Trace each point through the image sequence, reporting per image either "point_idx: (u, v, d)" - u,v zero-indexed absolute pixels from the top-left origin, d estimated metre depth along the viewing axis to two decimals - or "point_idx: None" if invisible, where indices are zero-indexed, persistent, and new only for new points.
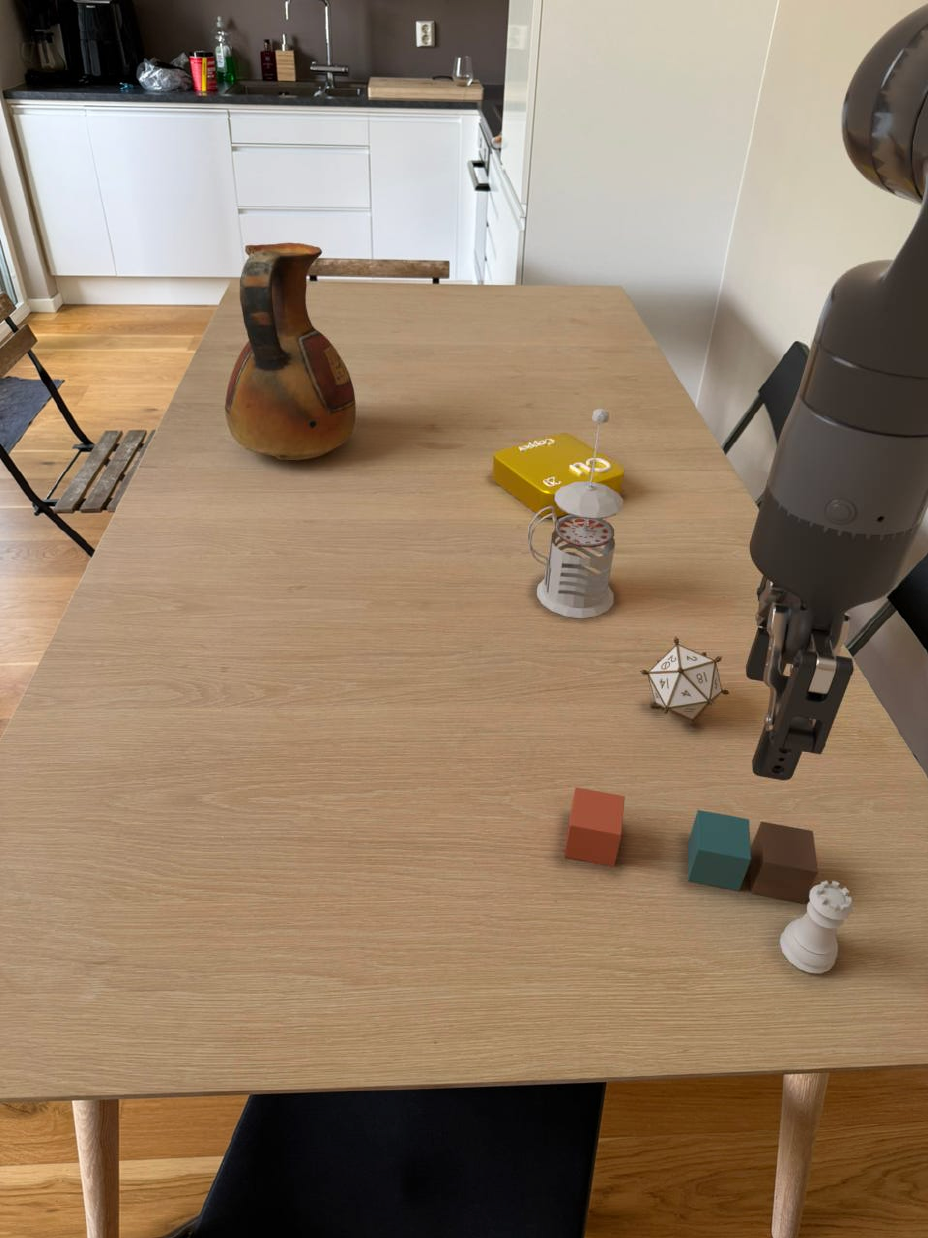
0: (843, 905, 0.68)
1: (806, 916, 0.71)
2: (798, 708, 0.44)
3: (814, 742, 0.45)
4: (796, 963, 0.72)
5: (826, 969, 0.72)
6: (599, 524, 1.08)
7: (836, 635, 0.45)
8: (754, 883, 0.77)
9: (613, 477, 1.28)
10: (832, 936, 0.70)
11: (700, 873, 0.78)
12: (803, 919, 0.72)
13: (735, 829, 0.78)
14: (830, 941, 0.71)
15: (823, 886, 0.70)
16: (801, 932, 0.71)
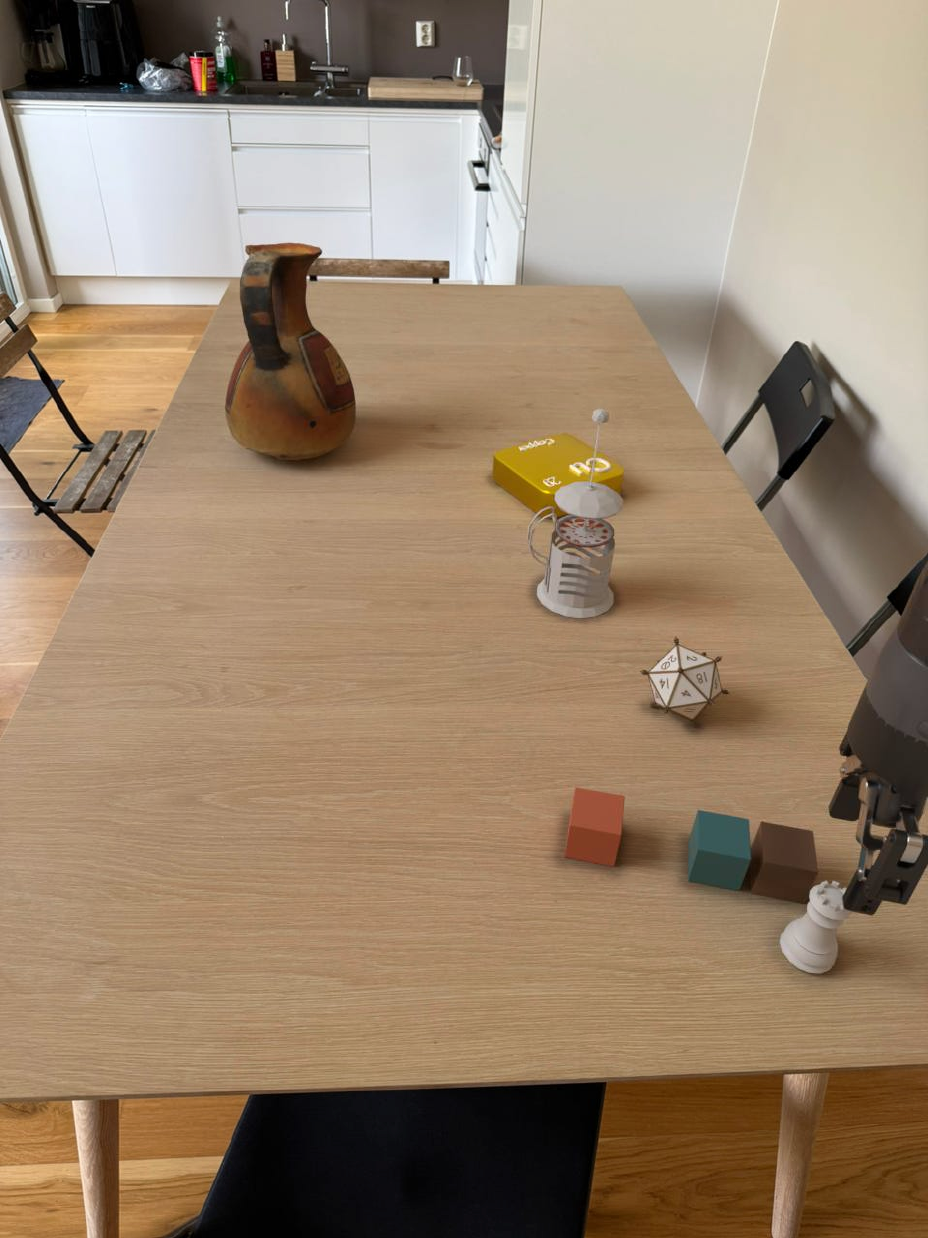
0: None
1: (806, 916, 0.71)
2: (890, 872, 0.56)
3: (901, 896, 0.57)
4: (796, 963, 0.72)
5: (826, 969, 0.72)
6: (599, 524, 1.08)
7: (919, 813, 0.57)
8: (754, 883, 0.77)
9: (613, 477, 1.28)
10: (832, 936, 0.70)
11: (700, 873, 0.78)
12: (803, 919, 0.72)
13: (735, 829, 0.78)
14: (830, 941, 0.71)
15: (823, 886, 0.70)
16: (801, 932, 0.71)
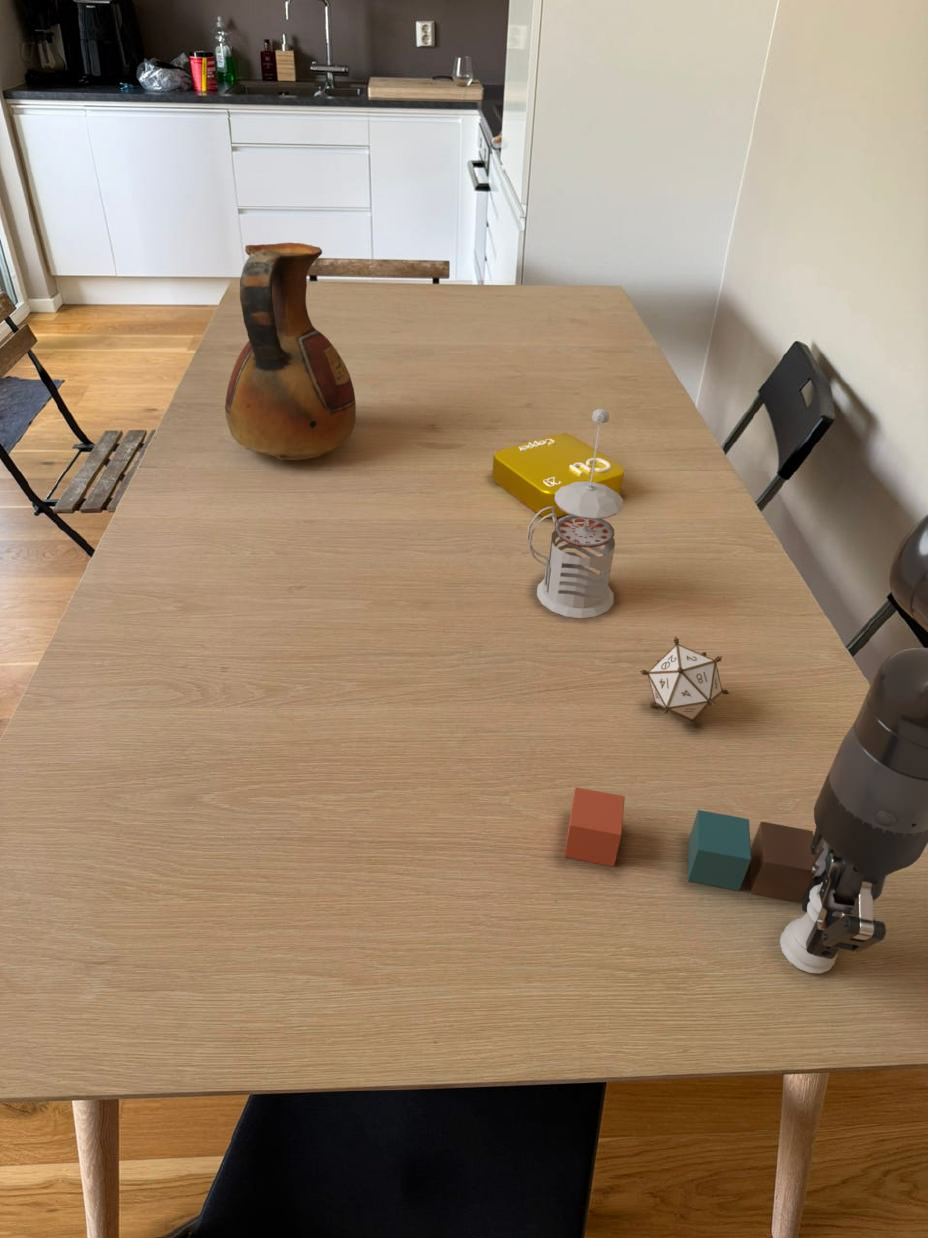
0: None
1: (806, 916, 0.71)
2: (843, 941, 0.63)
3: (853, 947, 0.65)
4: (796, 963, 0.72)
5: (826, 969, 0.72)
6: (599, 524, 1.08)
7: (879, 890, 0.62)
8: (754, 883, 0.77)
9: (613, 477, 1.28)
10: None
11: (700, 873, 0.78)
12: (803, 919, 0.72)
13: (735, 829, 0.78)
14: None
15: None
16: (801, 932, 0.71)
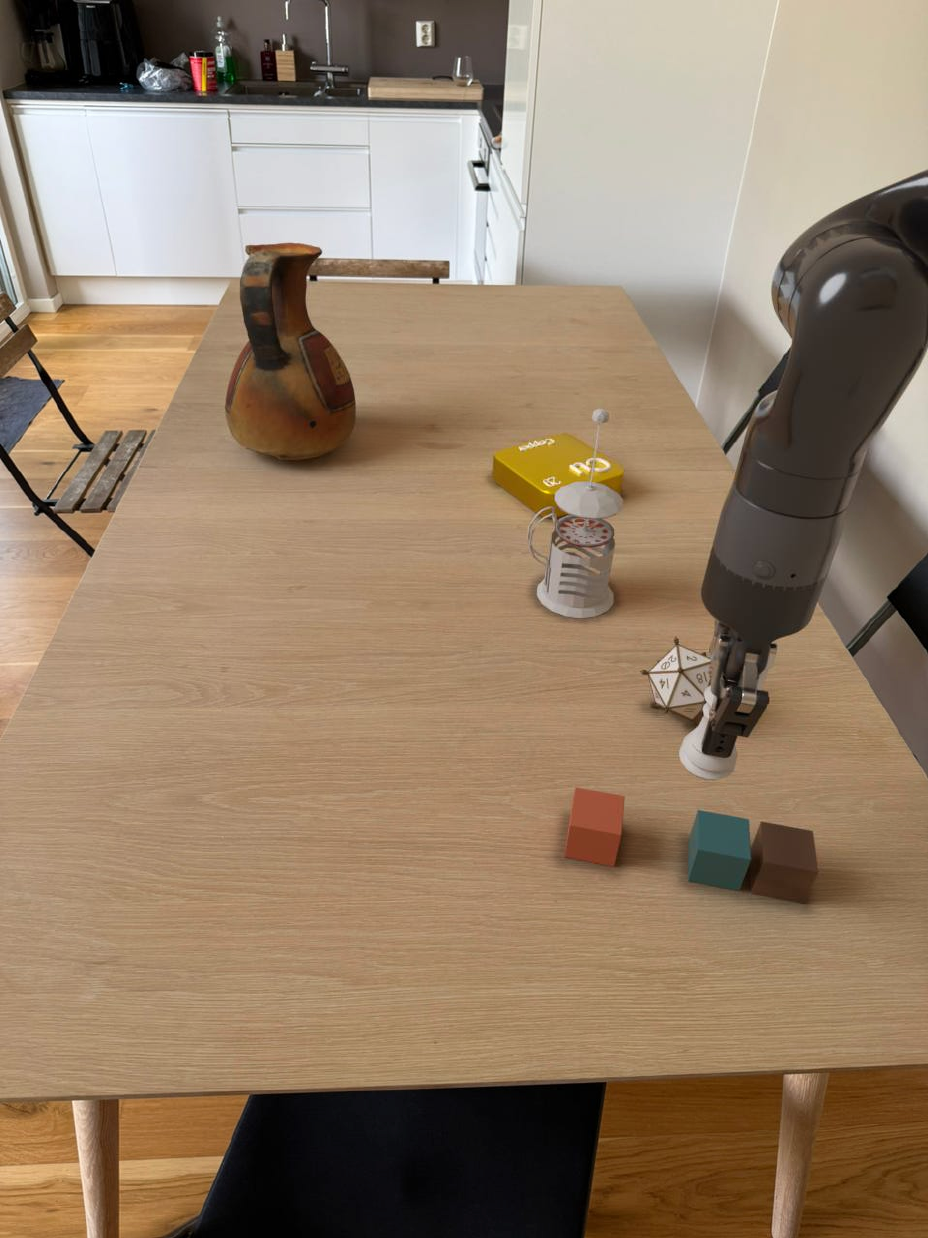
0: None
1: (702, 718, 0.68)
2: (729, 718, 0.60)
3: (742, 731, 0.62)
4: (693, 770, 0.69)
5: (724, 775, 0.69)
6: (599, 524, 1.08)
7: (764, 660, 0.59)
8: (754, 883, 0.77)
9: (613, 477, 1.28)
10: None
11: (700, 873, 0.78)
12: (700, 723, 0.69)
13: (735, 829, 0.78)
14: None
15: None
16: (698, 735, 0.69)
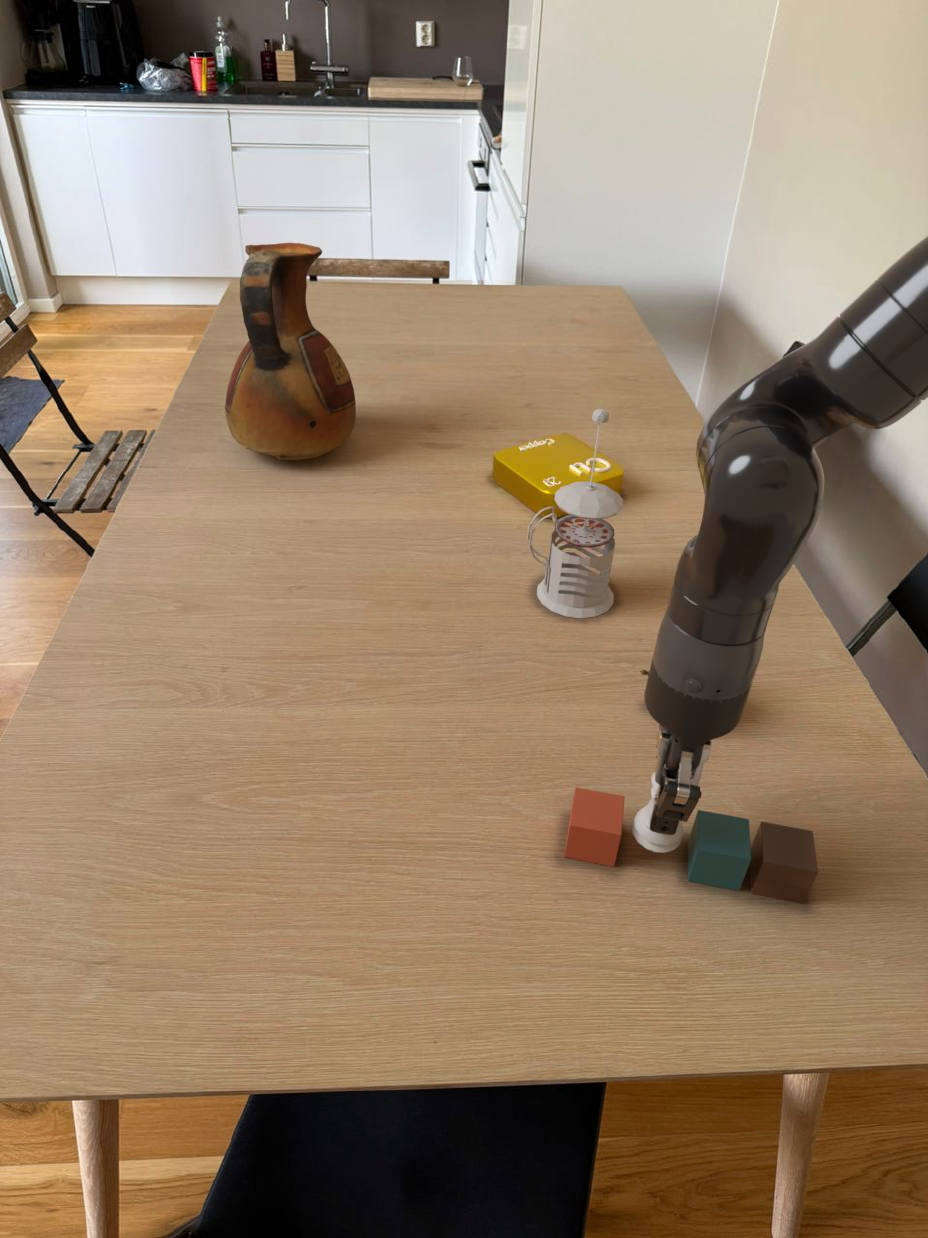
0: None
1: (651, 798, 0.77)
2: (668, 807, 0.69)
3: (681, 817, 0.71)
4: (644, 843, 0.78)
5: (671, 848, 0.77)
6: (599, 524, 1.08)
7: (697, 758, 0.67)
8: (754, 883, 0.77)
9: (613, 477, 1.28)
10: None
11: (700, 873, 0.78)
12: (649, 802, 0.77)
13: (735, 829, 0.78)
14: None
15: None
16: (647, 813, 0.77)
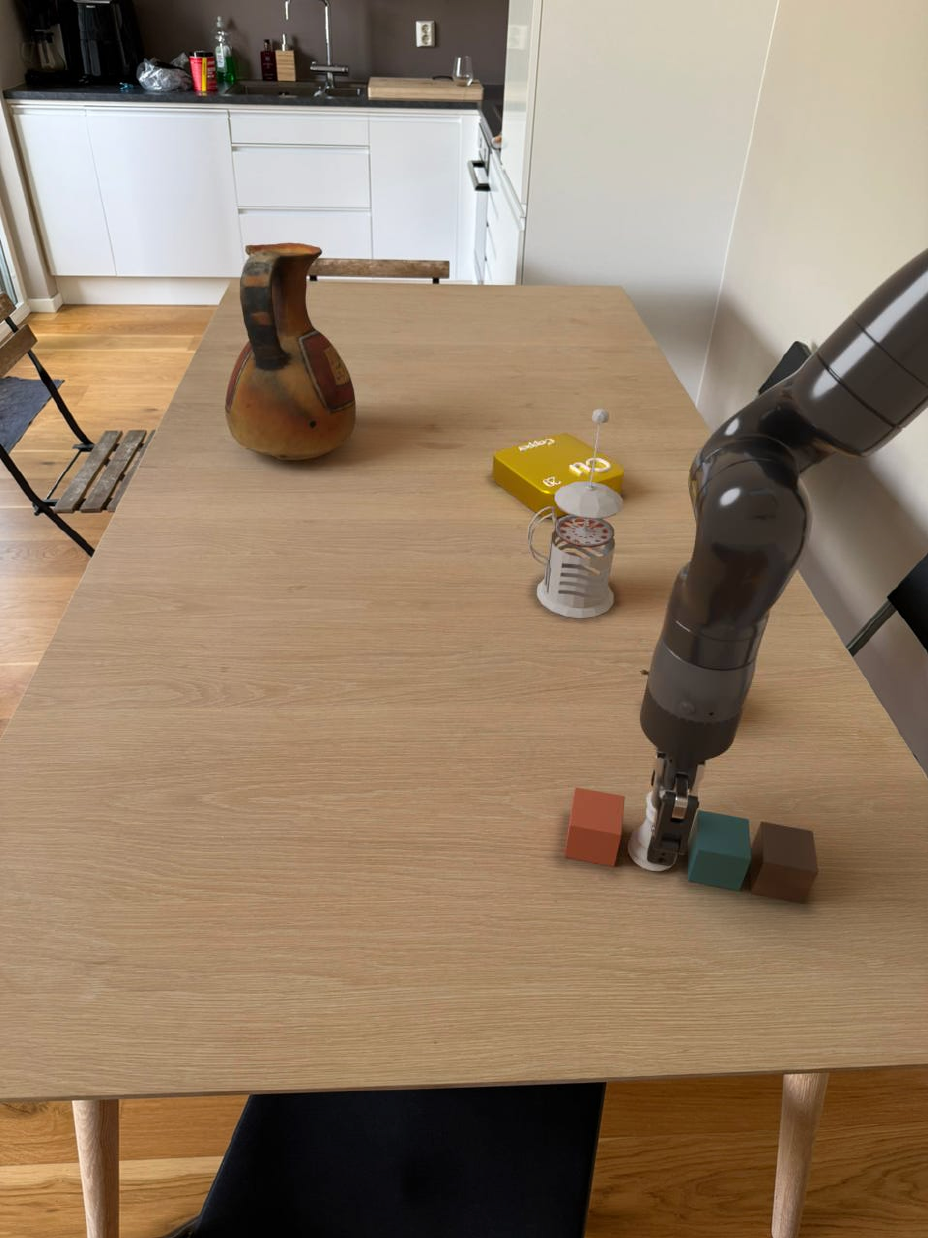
0: None
1: (646, 818, 0.78)
2: (666, 827, 0.68)
3: (679, 847, 0.69)
4: (639, 862, 0.79)
5: (666, 867, 0.79)
6: (599, 524, 1.08)
7: (692, 779, 0.69)
8: (754, 883, 0.77)
9: (613, 477, 1.28)
10: None
11: (700, 873, 0.78)
12: None
13: (735, 829, 0.78)
14: None
15: None
16: (643, 833, 0.79)
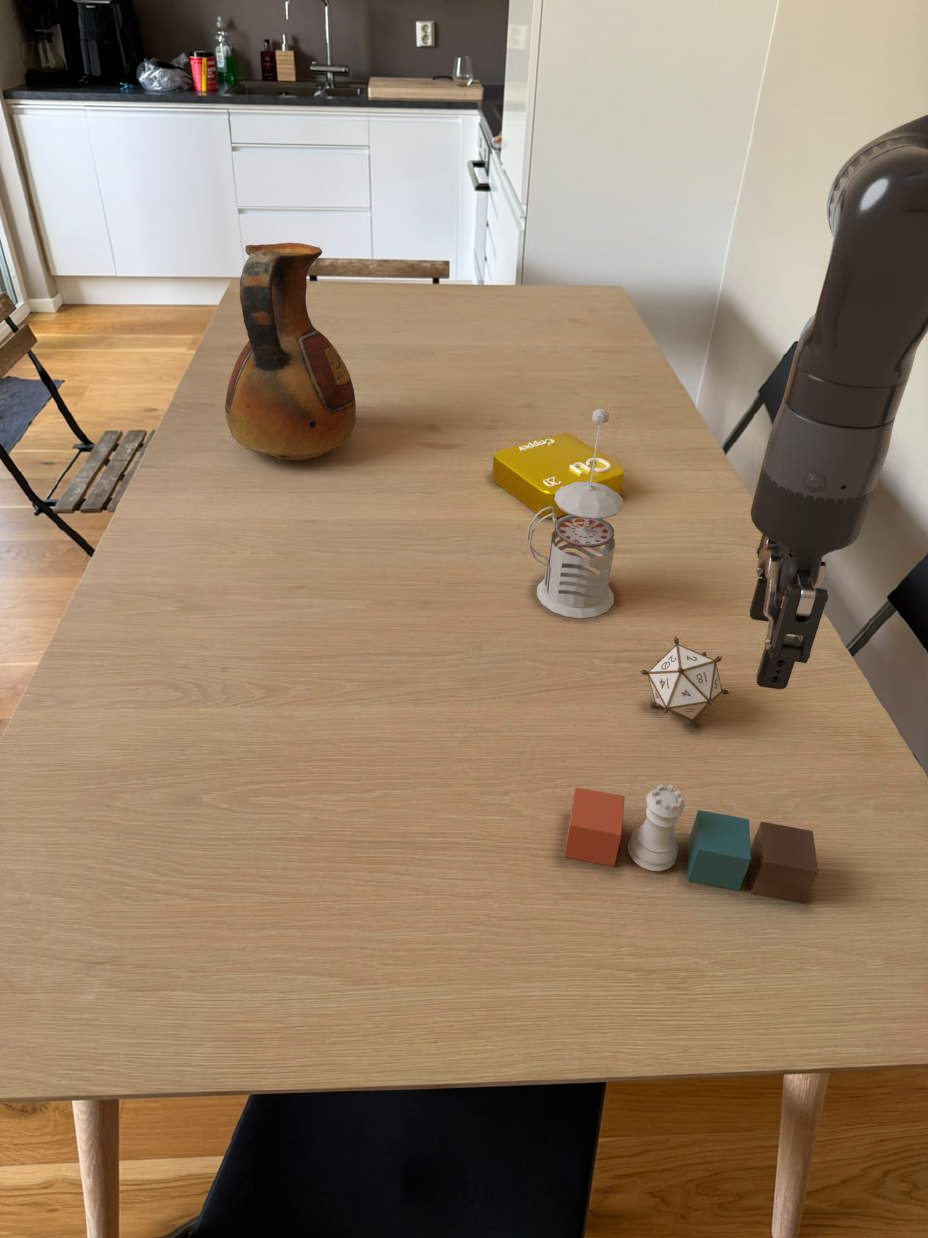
0: (673, 804, 0.75)
1: (646, 818, 0.78)
2: (789, 627, 0.61)
3: (802, 653, 0.62)
4: (639, 862, 0.79)
5: (666, 867, 0.79)
6: (599, 524, 1.08)
7: (815, 574, 0.61)
8: (754, 883, 0.77)
9: (613, 477, 1.28)
10: (669, 835, 0.78)
11: (700, 873, 0.78)
12: None
13: (735, 829, 0.78)
14: (667, 840, 0.78)
15: (658, 789, 0.77)
16: (643, 833, 0.79)
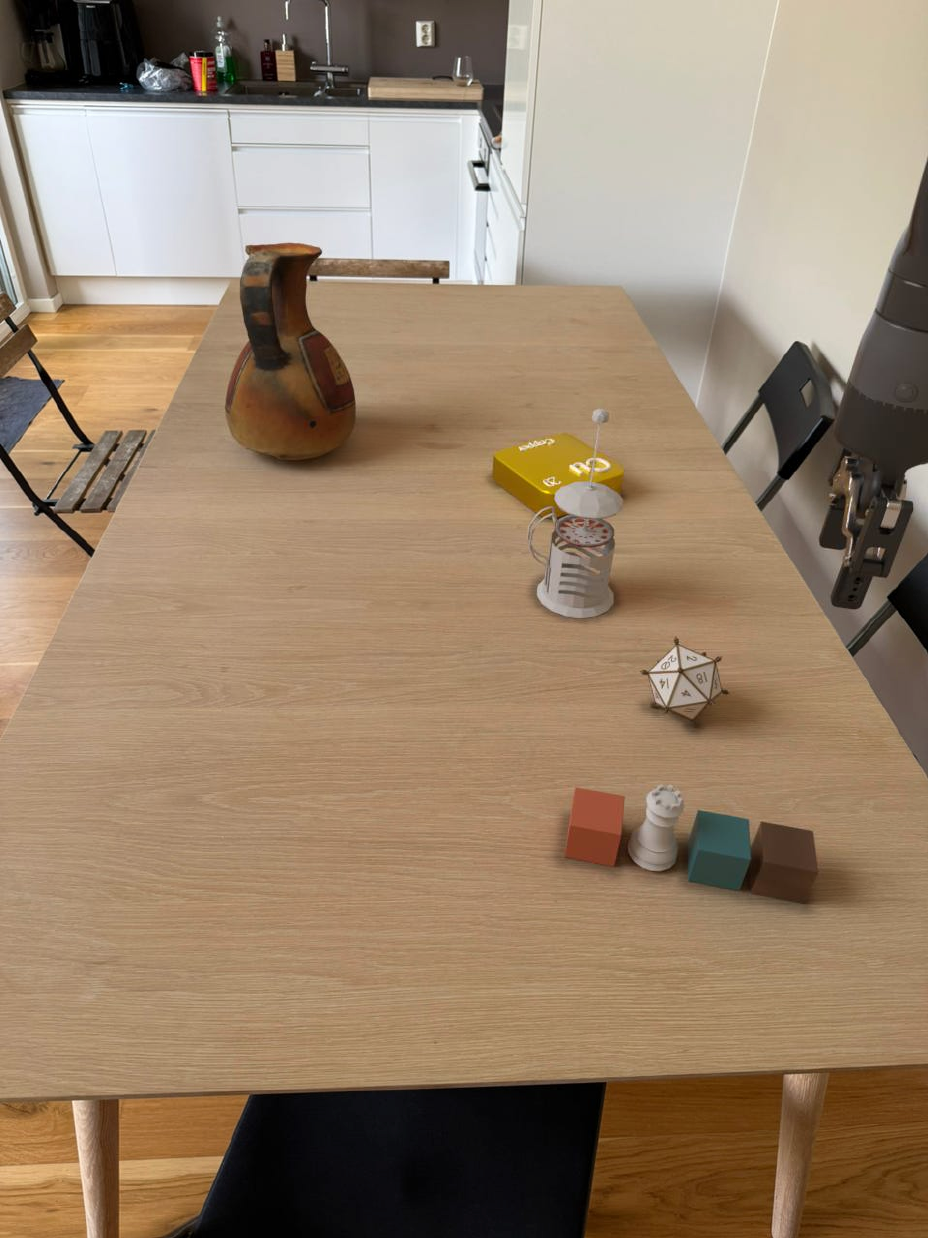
0: (673, 804, 0.75)
1: (646, 818, 0.78)
2: (872, 540, 0.61)
3: (883, 568, 0.63)
4: (639, 862, 0.79)
5: (666, 867, 0.79)
6: (599, 524, 1.08)
7: (899, 489, 0.62)
8: (754, 883, 0.77)
9: (613, 477, 1.28)
10: (668, 835, 0.78)
11: (700, 873, 0.78)
12: None
13: (735, 829, 0.78)
14: (667, 840, 0.78)
15: (658, 789, 0.77)
16: (643, 833, 0.79)
